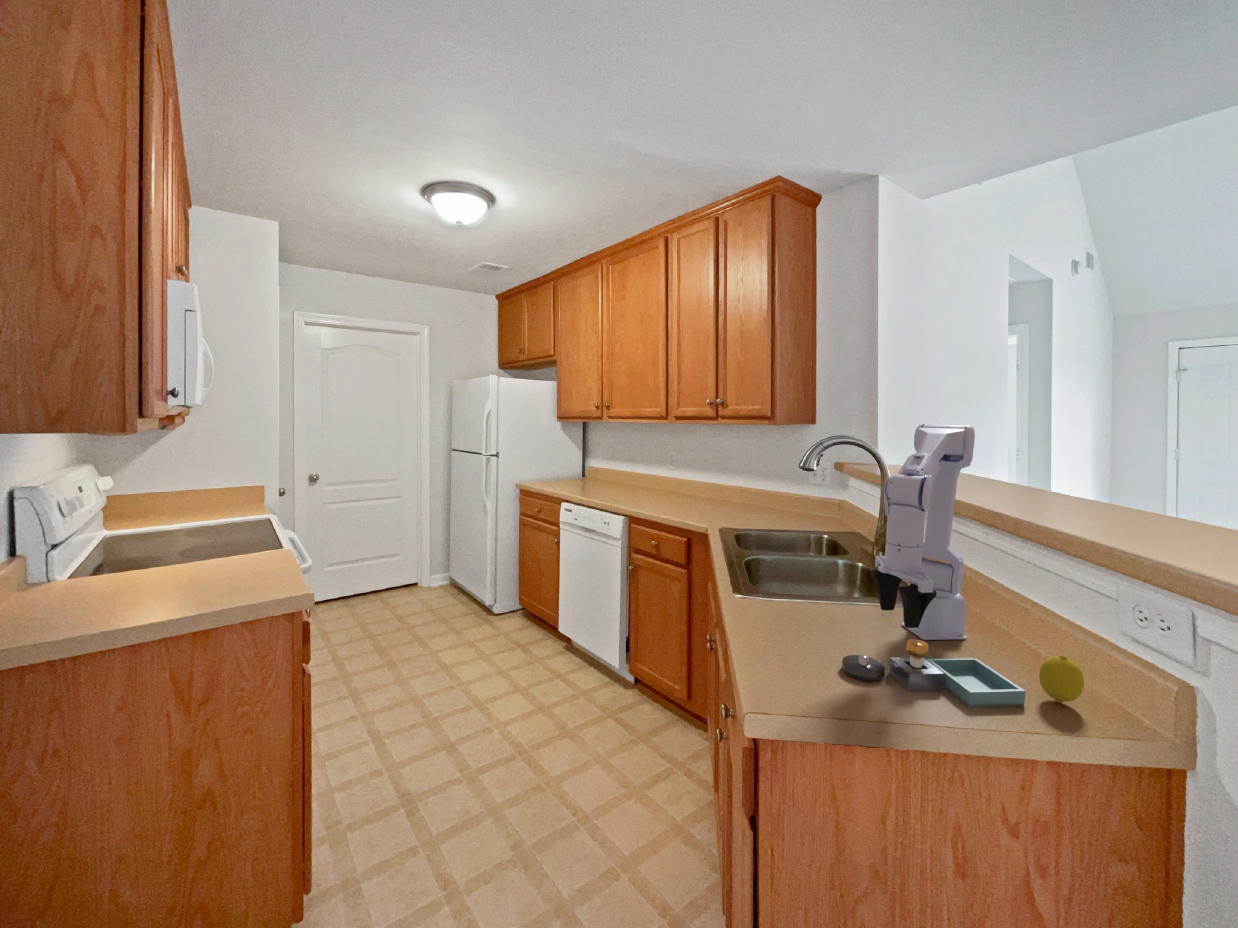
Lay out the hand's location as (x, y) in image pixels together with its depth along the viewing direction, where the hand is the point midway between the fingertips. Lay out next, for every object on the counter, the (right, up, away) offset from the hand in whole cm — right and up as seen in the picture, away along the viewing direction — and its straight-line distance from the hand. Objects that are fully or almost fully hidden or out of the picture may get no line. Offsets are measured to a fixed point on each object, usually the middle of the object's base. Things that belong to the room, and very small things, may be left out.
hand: (898, 617), depth 95 cm
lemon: (+22, -12, -8) cm, 26 cm away
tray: (+11, -11, -4) cm, 16 cm away
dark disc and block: (-2, -10, 0) cm, 11 cm away
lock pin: (+2, -11, -2) cm, 11 cm away
